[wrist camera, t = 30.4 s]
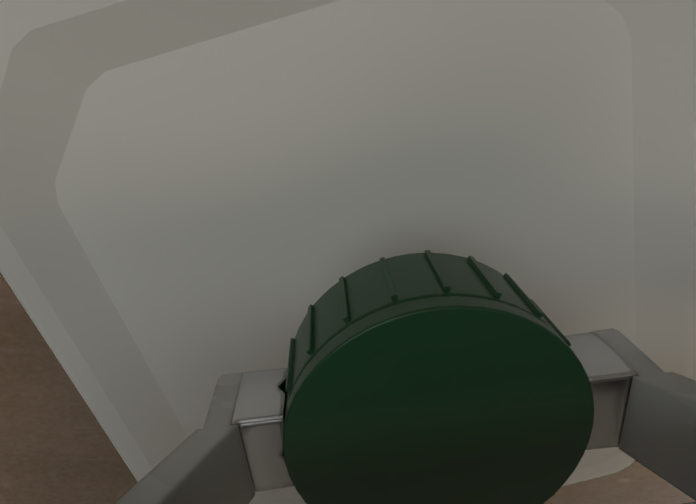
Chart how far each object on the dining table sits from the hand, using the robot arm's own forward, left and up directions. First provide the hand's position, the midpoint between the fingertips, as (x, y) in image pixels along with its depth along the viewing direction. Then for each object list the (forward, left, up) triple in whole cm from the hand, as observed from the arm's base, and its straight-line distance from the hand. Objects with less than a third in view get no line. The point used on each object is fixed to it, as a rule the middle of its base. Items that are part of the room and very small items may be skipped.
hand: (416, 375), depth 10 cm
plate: (0, 0, -6) cm, 6 cm away
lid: (0, 0, +2) cm, 2 cm away
